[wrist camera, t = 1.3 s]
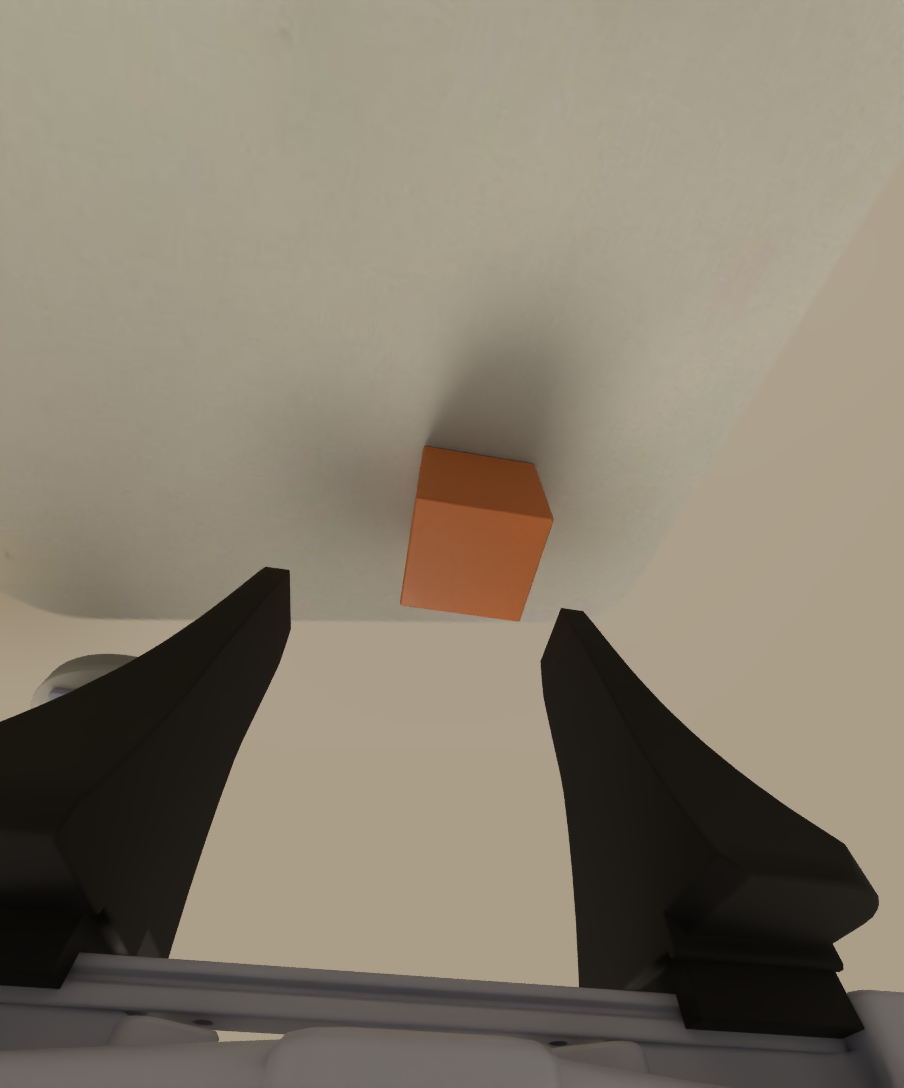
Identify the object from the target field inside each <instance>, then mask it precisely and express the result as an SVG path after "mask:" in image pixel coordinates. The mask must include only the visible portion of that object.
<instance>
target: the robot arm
mask: <svg viewBox="0 0 904 1088" xmlns="http://www.w3.org/2000/svg"><path fill="white" fill-rule="evenodd" d="M290 630H291V616H290V570H285V569H278V568H271V567H264V568H263V569H262V570H260V571H259V572H258V573H256V574H255V575H254V576H253V577H251V578H250V579H249V580H248V581H246V582H245V583H244V584H243V585H241V586H240V587H239V588H238V589H236V590H235V591H234V592H233V593H231V594H230V595H229V596H227V597H226V598H225V599H224V600H222V601H221V602H220V603H218V604H217V605H216V606H214V607H213V608H212V609H210V610H209V611H208V612H206V613H205V614H204V615H202V616H201V617H200V618H198V619H197V620H195V621H194V622H192V623H191V624H189V625H188V626H187V627H185V628H184V629H182V630H181V631H179V632H178V633H176V634H175V635H173V636H172V637H170V638H169V639H167V640H166V641H164V642H163V643H161V644H160V645H158V646H156V647H155V648H153V649H151V650H150V651H148V652H146V653H145V654H143V655H141V656H139V657H138V658H136V659H134V660H132V661H131V662H129V663H127V664H125V665H123V666H122V667H120V668H118V669H116V670H114V671H112V672H110V673H108V674H106V675H104V676H102V677H100V678H98V679H96V680H94V681H92V682H90V683H88V684H86V685H84V686H82V687H80V688H78V689H76V690H72V689H64V688H54V689H52V690H51V691H50V693H49V694H48V697H49V699H50V701H49V702H47V703H45V704H42V705H40V706H38V707H35V708H33V709H30V710H28V711H26V712H23V713H21V714H18V715H16V716H14V717H11V718H9V719H6V720H4V721H1V722H0V1088H904V993H903V992H889V991H875V990H858V991H853V992H848V993H846V992H845V990H844V988H843V986H842V984H841V982H840V980H839V978H838V976H837V974H836V972H840V971H842V970H843V963H842V961H841V959H840V957H839V955H838V953H837V951H836V950H835V948H834V946H833V943H834V942H836V941H838V940H839V939H840V938H842V937H844V936H845V935H847V934H849V933H850V932H852V931H854V930H855V929H857V928H858V927H860V926H861V925H863V924H864V923H866V922H867V921H868V920H869V919H871V918H872V917H873V916H874V914H875V912H876V911H877V909H878V906H879V900H878V895H877V893H876V892H875V890H874V889H873V887H872V886H871V884H870V882H869V881H868V879H867V878H866V876H865V875H864V873H863V872H862V870H861V869H860V867H859V866H858V864H857V862H856V861H855V859H854V858H853V856H852V855H851V853H850V852H849V850H848V848H847V847H846V846H845V844H844V843H842V842H840V841H839V840H838V839H836V838H835V837H833V836H831V835H830V834H828V833H827V832H825V831H824V830H822V829H821V828H819V827H818V826H816V825H814V824H813V823H811V822H810V821H808V820H807V819H805V818H804V817H802V816H801V815H799V814H797V813H796V812H794V811H793V810H791V809H790V808H788V807H787V806H786V805H784V804H783V803H781V802H780V801H779V800H777V799H776V798H774V797H773V796H772V795H770V794H769V793H767V792H766V791H765V790H763V789H762V788H760V787H759V786H758V785H756V784H755V783H754V782H752V781H751V780H750V779H748V778H747V777H746V776H744V775H743V774H742V773H740V772H739V771H738V770H736V769H735V768H734V767H733V766H732V765H730V764H729V763H728V762H727V761H725V760H724V759H723V758H722V757H721V756H719V755H718V754H717V753H716V752H715V751H713V750H712V749H711V748H710V747H708V746H707V745H706V744H705V743H704V742H703V741H701V740H700V739H699V738H698V737H697V736H696V735H695V734H694V733H693V732H691V731H690V730H689V729H688V728H687V727H686V726H685V725H684V724H683V723H682V722H681V721H680V720H679V719H678V718H677V717H675V716H674V715H673V714H672V713H671V712H670V711H669V710H668V709H667V708H666V707H665V706H664V705H663V704H662V703H661V702H660V701H659V700H658V699H657V697H656V696H655V695H654V694H653V693H652V692H651V691H650V690H649V689H648V688H647V687H646V686H645V685H644V683H643V682H642V681H641V680H640V679H639V678H638V677H637V676H636V674H635V673H634V672H633V671H632V670H631V669H630V668H629V666H628V665H627V664H626V663H625V662H624V661H623V659H622V658H621V657H620V656H619V655H618V653H617V652H616V651H615V650H614V649H613V647H612V646H611V645H610V644H609V642H608V641H607V640H606V639H605V637H604V636H603V635H602V634H601V632H600V631H599V630H598V629H597V628H596V626H595V625H594V624H593V622H592V621H591V620H590V619H589V618H588V616H587V615H586V614H585V613H584V612H583V611H578V610H571V609H564V608H561V610H560V612H559V615H558V618H557V620H556V623H555V625H554V628H553V631H552V633H551V636H550V638H549V641H548V644H547V646H546V649H545V651H544V654H543V657H542V659H541V675H542V686H543V696H544V701H545V706H546V711H547V715H548V720H549V725H550V729H551V734H552V739H553V743H554V748H555V752H556V757H557V761H558V766H559V770H560V775H561V780H562V786H563V792H564V799H565V807H566V816H567V824H568V833H569V843H570V854H571V863H572V875H573V888H574V901H575V915H576V932H577V951H578V970H579V987H566V986H552V985H538V984H523V983H509V982H495V981H480V980H466V979H452V978H438V977H437V978H436V977H422V976H408V975H394V974H380V973H365V972H352V971H338V970H323V969H308V968H295V967H280V966H266V965H251V964H238V963H237V964H236V963H223V962H209V961H195V960H180V959H168V958H169V954H170V951H171V948H172V944H173V941H174V938H175V934H176V931H177V928H178V925H179V922H180V918H181V915H182V912H183V909H184V905H185V902H186V899H187V895H188V893H189V889H190V886H191V883H192V880H193V877H194V874H195V871H196V868H197V865H198V862H199V859H200V856H201V853H202V849H203V847H204V844H205V841H206V837H207V835H208V832H209V829H210V826H211V823H212V820H213V818H214V815H215V811H216V809H217V806H218V803H219V800H220V797H221V795H222V792H223V789H224V787H225V784H226V781H227V778H228V775H229V773H230V770H231V767H232V765H233V762H234V759H235V757H236V755H237V752H238V750H239V747H240V745H241V743H242V740H243V739H244V737H245V734H246V732H247V730H248V728H249V726H250V724H251V722H252V720H253V718H254V716H255V714H256V712H257V709H258V707H259V705H260V703H261V701H262V699H263V697H264V695H265V693H266V691H267V689H268V687H269V685H270V682H271V680H272V678H273V676H274V674H275V672H276V670H277V668H278V665H279V663H280V660H281V657H282V654H283V651H284V648H285V645H286V642H287V639H288V636H289V633H290ZM213 1030H220V1031H221V1030H222V1031H238V1032H255V1033H272V1034H285V1035H284V1036H283V1037H282V1038H281V1039H280V1040H258V1041H257V1040H256V1041H230V1042H218V1041H219V1037H218V1035H217V1032H216V1031H213Z"/></svg>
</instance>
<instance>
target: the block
mask: <svg viewBox="0 0 904 1088" xmlns="http://www.w3.org/2000/svg"><path fill="white" fill-rule="evenodd" d="M553 520H554V519H553V516H552V513H551V510H550V507H549V505H548V502H547V499H546V496H545V493H544V491H543V488H542V485H541V482H540V479H539V476H538V474H537V471H536V468H535V465H534V464H529V463H523V462H517V461H511V460H505V459H499V458H493V457H488V456H482V455H476V454H470V453H464V452H458V451H452V450H446V449H440V448H434V447H428V446H424V449H423V455H422V461H421V467H420V474H419V480H418V486H417V492H416V498H415V505H414V512H413V519H412V525H411V532H410V539H409V546H408V552H407V559H406V566H405V573H404V579H403V586H402V593H401V600H400V604H401V605H403V606H410V607H417V608H424V609H432V610H439V611H446V612H453V613H460V614H468V615H475V616H482V617H489V618H497V619H504V620H511V621H520V618H521V615H522V612H523V609H524V606H525V603H526V600H527V597H528V594H529V592H530V589H531V586H532V583H533V580H534V577H535V574H536V571H537V568H538V565H539V562H540V559H541V556H542V553H543V550H544V547H545V544H546V541H547V538H548V535H549V532H550V529H551V526H552V523H553Z"/></svg>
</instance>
